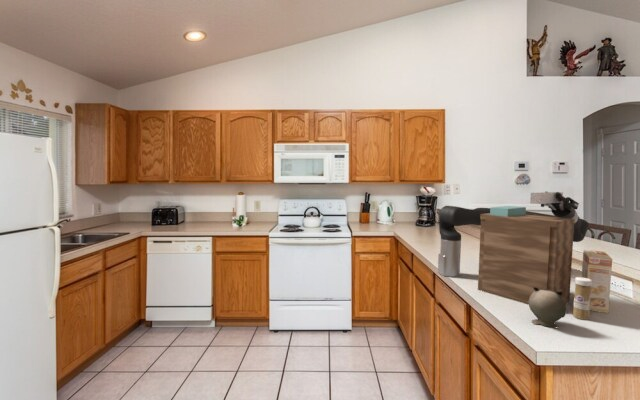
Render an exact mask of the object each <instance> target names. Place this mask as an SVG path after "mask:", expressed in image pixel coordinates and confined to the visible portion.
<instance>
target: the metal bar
mask: <svg viewBox="0 0 640 400" xmlns="http://www.w3.org/2000/svg"><path fill="white" fill-rule="evenodd" d="M556 192H557V191H543V192H530V199H529V200H530V201H529V204H533V205H534V204H535V205H541V204H547V203H560V202H559V201H558V199H557V198H556ZM558 192H559V191H558ZM559 193H561V194H562V196H564V192H559Z"/></svg>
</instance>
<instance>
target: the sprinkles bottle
mask: <svg viewBox="0 0 640 400" xmlns="http://www.w3.org/2000/svg"><path fill="white" fill-rule="evenodd" d="M574 284H575V287H574V297H573V313H572V316H573V317H574V318H576V319H579V320H585V321H586V320H590V311H591V310H590V297H591V286H592V280H591V279H588V278H583V277H582V276H579V277H578V276H577V277H576V276H575V279H574Z"/></svg>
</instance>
